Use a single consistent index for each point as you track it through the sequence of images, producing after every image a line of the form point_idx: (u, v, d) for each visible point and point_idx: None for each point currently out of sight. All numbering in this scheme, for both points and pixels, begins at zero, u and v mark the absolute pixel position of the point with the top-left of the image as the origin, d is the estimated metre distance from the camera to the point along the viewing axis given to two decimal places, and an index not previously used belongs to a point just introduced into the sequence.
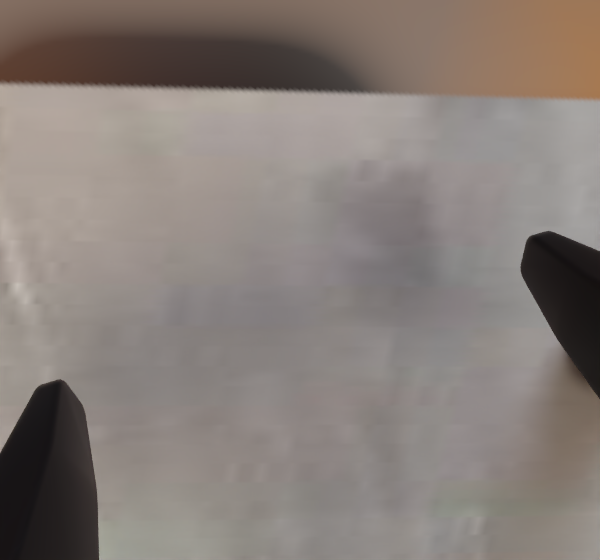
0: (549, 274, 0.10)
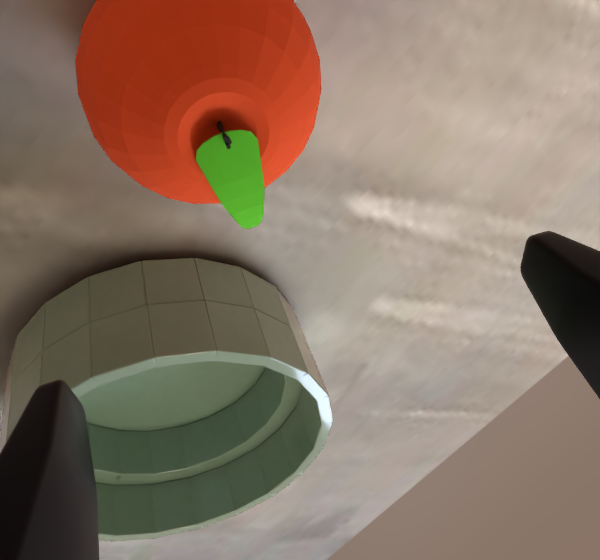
0: (549, 274, 0.10)
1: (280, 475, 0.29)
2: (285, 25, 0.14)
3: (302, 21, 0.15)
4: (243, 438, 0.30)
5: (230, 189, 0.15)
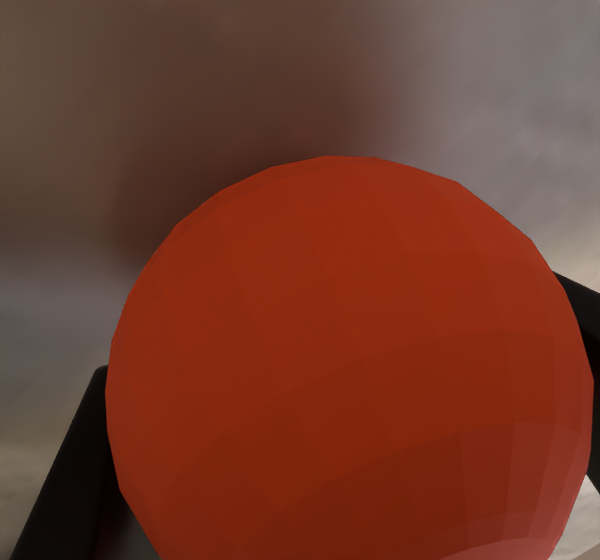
0: None
1: None
2: (576, 365, 0.06)
3: (573, 314, 0.07)
4: None
5: None
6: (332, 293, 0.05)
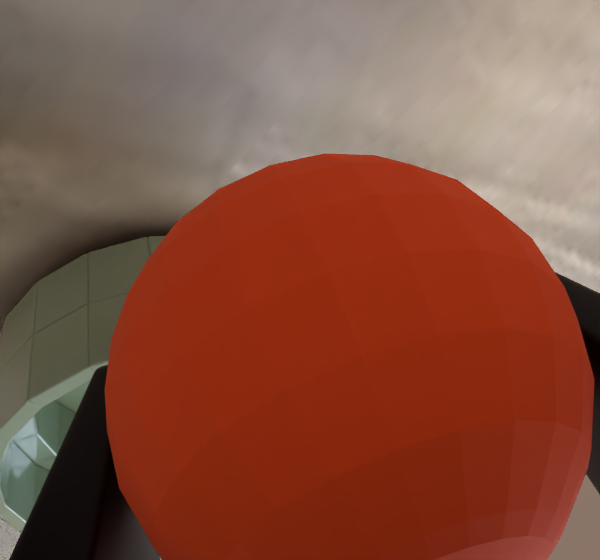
0: None
1: None
2: (577, 363, 0.06)
3: (574, 312, 0.07)
4: None
5: None
6: (333, 290, 0.05)
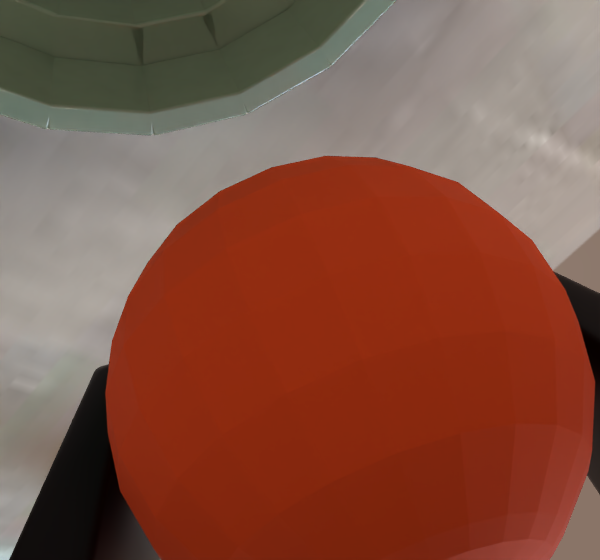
0: None
1: (350, 2, 0.12)
2: (577, 365, 0.06)
3: (574, 315, 0.07)
4: None
5: None
6: (333, 294, 0.05)
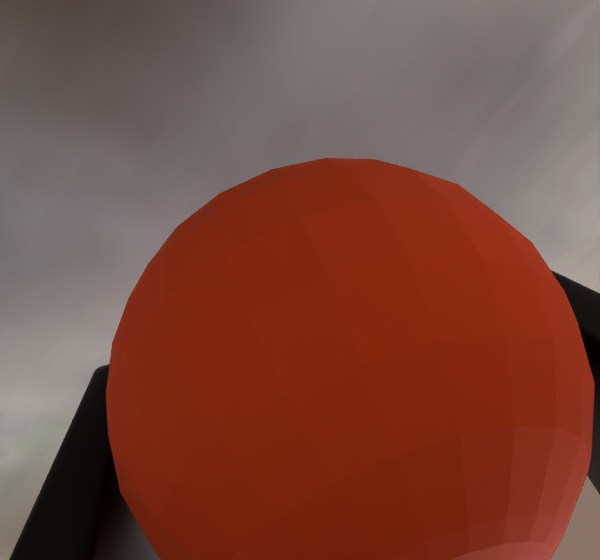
0: None
1: None
2: (576, 368, 0.06)
3: (574, 317, 0.07)
4: None
5: None
6: (333, 296, 0.05)
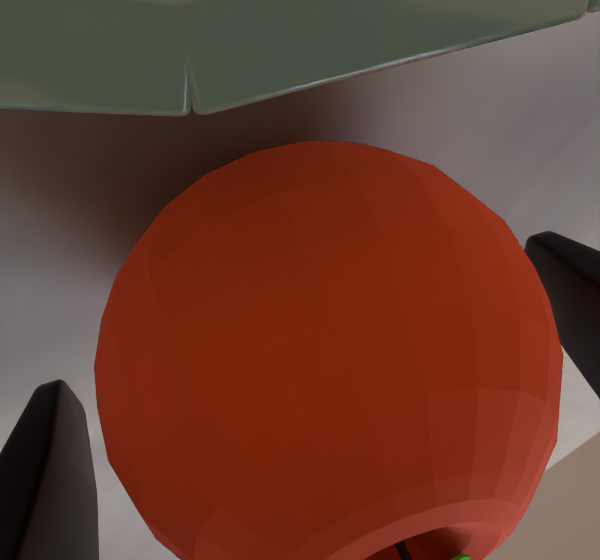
0: (549, 274, 0.10)
1: None
2: (543, 336, 0.07)
3: (544, 292, 0.07)
4: None
5: None
6: (306, 265, 0.06)
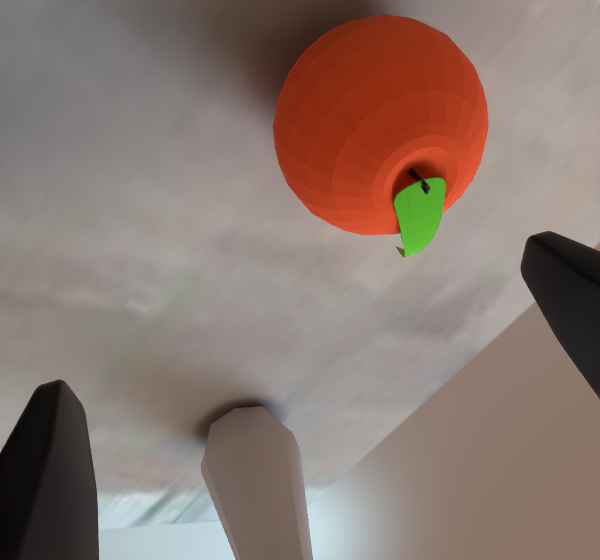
0: (549, 274, 0.10)
1: None
2: (474, 87, 0.16)
3: (479, 80, 0.17)
4: None
5: (413, 226, 0.17)
6: (382, 45, 0.15)
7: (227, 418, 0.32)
